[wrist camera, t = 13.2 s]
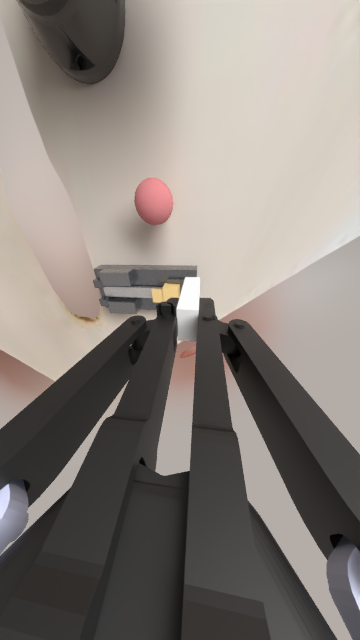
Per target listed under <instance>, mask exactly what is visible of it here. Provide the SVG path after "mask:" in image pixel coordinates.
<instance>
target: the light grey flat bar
mask: <svg viewBox="0 0 360 640" xmlns="http://www.w3.org/2000/svg"><path fill="white" fill-rule="evenodd" d="M162 288H163V287H148V286H105V287H104V288H103V289H104V292H105V295H106V296H110V297H136V298H153V297H152V289H162Z"/></svg>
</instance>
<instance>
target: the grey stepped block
mask: <svg viewBox="0 0 360 640" xmlns="http://www.w3.org/2000/svg"><path fill="white" fill-rule="evenodd" d="M94 271H95V275H96V279H95V280H93V283H94V286H95V288H100V290H101V293H102V298H101V299H99V301H100V304H101V306H106V307H107V308H109V310H110V313H128V314H137V312H138V311H139V309H156V305H157V304H158V303H156V302H153V298H136V297H110V296H106V295H105V292H104V289H103V288H104V287H105V286H148V287H163V286H164V284H165V283H180V294H181V291H182V287H183V283H184V280H185V277H197V266H159V265H100V266H99V267H97V268H95V269H94Z"/></svg>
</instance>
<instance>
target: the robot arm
mask: <svg viewBox="0 0 360 640" xmlns="http://www.w3.org/2000/svg"><path fill="white" fill-rule="evenodd" d="M17 2H18V3H19V5H20V7H21V9H22V11H23V12H24V14H25V16H26V18H27V20H28V21H29V23H30V25H31V27H32V29H33V30H34V32H35V34H36V36H37V37H38V39H39V41H40V42H41V44H42V45H43V47H44V48H45V50H46V51H47V52H48V54H49V55H50V56H51V57H52V58H53V60H54V61H55V62H56V63H57V64H58V65H59V66H60V67H61V68H62V69H63V70H64V71H65V72H66V73H67V74H68V75H70V76H71V77H72V78H74V79H76V80H78V81H80V82H83V83H95V82H98V81H100V80H102V79H103V78H105V77H106V76H107V75H108V74H109V73H110V71H111V70H112V69H113V67H114V65H115V63H116V61H117V59H118V56H119V53H120V50H121V46H122V41H123V35H124V25H125V2H124V0H17ZM199 293H200V277H185V280H184V283H183V287H182V291H181V294H180V298H169V299H168V300H167V301H165V302H160V303H158V304H157V305H156V309H157V318H156V319H154V320H148V321H146V318H145V317H143V316H133V317H130V318H129V319H127V320H126V321H125V322H124V323H123V324H122V325H120V326H119V327H118V328H117V329H116V330H115V331H113V332H112V333H111V334H110V335H109V336H108V337H107V338H105V339H104V340H103V341H102V342H101V343H100V344H98V345H97V346H96V347H95V348H94V349H93V350H92V351H90V352H89V353H88V354H87V355H86V356H85V357H83V358H82V359H81V360H80V361H79V362H78V363H76V364H75V365H74V366H73V367H72V368H71V369H70V370H68V371H67V372H66V373H65V374H64V375H63V376H61V377H60V378H59V379H58V380H57V381H56V382H55V383H53V384H52V385H51V386H50V387H49V388H48V389H46V390H45V391H44V392H43V393H42V394H41V395H40V396H38V397H37V398H36V399H35V400H34V401H33V402H32V403H30V404H29V405H28V406H27V407H26V408H24V409H23V410H22V411H21V412H20V413H19V414H18V415H16V416H15V417H14V418H13V419H12V420H11V421H9V422H8V423H7V424H6V425H5V426H4V427H3V428H1V429H0V554H1V553H2V551H3V550H4V549H5V547H6V546H7V545H8V544H9V543H10V542H12V541H14V540H15V539H16V538H17V537H18V536H19V535H20V534H21V533H22V532H23V530H24V528H25V527H26V525H27V522H28V513H27V510H28V507H29V506H30V505H32V503H34V502H35V501H36V499H37V498H39V497H40V495H41V494H42V493H43V492H44V491H45V490H46V488H48V486H49V485H50V484H51V483H52V482H53V481H54V480H55V478H56V477H57V476H58V475H59V473H60V472H61V471H62V470H63V468H64V467H65V466H66V464H67V463H68V462H69V460H70V459H71V458H72V456H73V455H74V454H75V452H76V451H77V449H78V448H79V447H80V445H81V444H82V443H83V441H84V440H85V438H86V437H87V436H88V434H89V433H90V432H91V430H92V429H93V428H94V426H95V425H96V424H97V422H98V421H99V419H100V418H101V417H102V415H103V414H104V413H105V411H106V410H107V408H108V407H109V406H110V404H111V403H112V402H113V400H114V399H115V398H116V396H117V395H118V393H119V392H120V391H121V389H122V388H123V387H124V385H125V384H126V383H127V381H128V380H129V382H128V384H127V386H126V388H125V391H124V393H123V395H122V397H121V400H120V402H119V405H118V406H117V409H116V411H115V413H114V414H113V415H112V416H110V417H108V418H106V419H105V420H104V422H103V423H102V425H101V426H100V428H99V430H98V433H97V434H96V437H95V439H94V441H93V443H92V445H91V447H90V449H89V451H88V453H87V456H86V457H85V460H84V462H83V464H82V466H81V468H80V470H79V472H78V474H77V477H76V479H75V480H74V483H73V485H72V487H71V488H70V489H69V490H68V491H67V492H66V493H65V494H64V495H63V496H62V497H61V498H60V499H58V500H57V501H56V502H55V503H54V504H53V505H52V506H51V507H50V508H49V509H48V510H47V511H46V512H45V513H44V514H43V515H42V516H41V517H40V518H39V519H38V520H37V521H36V522H35V523H34V524H33V525H32V526H31V527H30V528H29V529H27V530H26V531H25V532H24V533H23V534H22V535H21V536H20V537H19V538H18V539H17V540H16V541H15V542H14V543H13V544H12V545H11V546H10V547H9V548H8V549H7V550H6V551H5V552H4V553H3V554H2V555H1V556H0V640H337V638H336V637H335V635H334V634H333V632H332V631H331V629H330V627H329V625H328V624H327V622H326V621H325V619H324V618H323V616H322V614H321V613H320V611H319V609H318V608H317V606H316V605H315V603H314V601H313V600H312V598H311V597H310V595H309V593H308V592H307V590H306V589H305V587H304V585H303V584H302V582H301V581H300V579H299V577H298V576H297V574H296V573H295V571H294V569H293V568H292V566H291V565H290V563H289V561H288V560H287V558H286V557H285V555H284V553H283V552H282V550H281V548H280V547H279V545H278V544H277V542H276V540H275V539H274V537H273V536H272V534H271V532H270V531H269V529H268V528H267V526H266V524H265V523H264V521H263V520H262V518H261V517H260V515H259V514H258V513H257V511H256V510H255V509H254V507H253V506H252V505H251V504H250V503H249V501H248V500H247V494H246V487H245V481H244V474H243V468H242V461H241V455H240V449H239V443H238V438H237V435H236V433H235V431H234V430H233V428H232V423H231V415H230V407H229V400H228V393H227V385H226V378H225V371H224V364H223V356H222V353H223V354H224V357H225V359H226V361H227V363H228V365H229V367H230V369H231V372H232V374H233V376H234V378H235V380H236V382H237V384H238V386H239V389H240V391H241V393H242V395H243V397H244V399H245V401H246V403H247V405H248V408H249V410H250V412H251V414H252V416H253V418H254V420H255V422H256V424H257V426H258V429H259V430H260V433H261V435H262V437H263V439H264V441H265V443H266V445H267V448H268V450H269V452H270V454H271V456H272V458H273V460H274V462H275V464H276V466H277V469H278V471H279V473H280V475H281V477H282V479H283V481H284V483H285V485H286V488H287V490H288V492H289V494H290V496H291V498H292V500H293V502H294V504H295V506H296V508H297V510H298V512H299V513H300V515H301V517H302V519H303V521H304V523H305V525H306V527H307V528H308V530H309V531H310V533H311V535H312V537H313V538H314V540H315V542H316V543H317V545H318V547H319V548H320V550H321V551H322V553H323V554H324V556H325V557H326V559H327V560H328V561H327V579H328V583H329V591H330V593H331V596H332V598H333V601H334V603H335V605H336V607H337V609H338V611H339V613H340V615H341V616H342V619H343V621H344V623H345V625H346V627H347V629H348V631H349V633H350V635H351V637H352V639H353V640H360V454H359V453H358V452H357V451H356V450H355V448H354V447H353V446H352V445H351V444H350V443H349V441H348V440H347V439H346V438H345V437H344V436H343V434H342V433H341V432H340V431H339V430H338V428H337V427H336V426H335V425H334V424H333V422H332V421H331V420H330V419H329V418H328V417H327V415H326V414H325V413H324V412H323V411H322V409H321V408H320V407H319V406H318V405H317V404H316V402H315V401H314V400H313V399H312V398H311V396H310V395H309V394H308V393H307V392H306V391H305V390H304V388H303V387H302V386H301V385H300V384H299V382H298V381H297V380H296V379H295V378H294V376H293V375H292V374H291V373H290V372H289V370H288V369H287V368H286V367H285V366H284V365H283V363H282V362H281V361H280V360H279V359H278V357H277V356H276V355H275V354H274V353H273V352H272V350H271V349H270V348H269V347H268V346H267V344H266V343H265V342H264V341H263V340H262V339H261V337H260V336H259V335H258V334H257V333H256V331H255V330H254V329H253V328H252V327H251V325H250V324H248V323H247V322H246V321H243V320H239V319H235V320H231V321H230V322H229V324H227V323H223V322H221V321H219V320H218V319H217V316H215V308H214V301H213V300H212V299H211V298H199ZM177 336H178V340H183V341H197V343H196V364H195V383H194V402H193V403H194V404H193V422H192V440H191V459H190V471H187V472H182V473H177V474H172V475H168V476H162V475H160V474H158V473H156V472H155V469H156V461H157V447H158V441H159V436H160V431H161V426H162V421H163V416H164V410H165V405H166V400H167V395H168V389H169V384H170V379H171V373H172V368H173V363H174V358H175V353H176V347H177ZM131 344H132V345H131ZM130 345H131V346H130ZM129 378H130V379H129Z"/></svg>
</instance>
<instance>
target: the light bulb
mask: <svg viewBox="0 0 360 640" xmlns="http://www.w3.org/2000/svg"><path fill="white" fill-rule="evenodd" d="M135 206H136V209H137V212H138V214H139V215H140V217H141V218H142V219H143V220H144V221H146V222H147V223H149V224H152V225H159V224H162V223H164V222H165V221H166V220H167V219H168V218H169V217H170V215H171V212H172V209H173V198H172V194H171V192H170V190H169V188H168V187H167V185H166V184H165V183H164V182H162V181H161V180H159V179H156V178H148V179H145V180H143V181H142V182H141V183H140V184H139V185H138V187H137V189H136V192H135Z"/></svg>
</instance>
